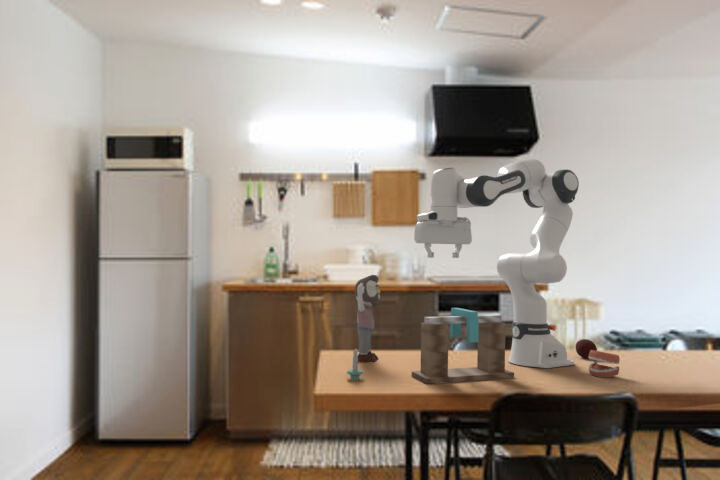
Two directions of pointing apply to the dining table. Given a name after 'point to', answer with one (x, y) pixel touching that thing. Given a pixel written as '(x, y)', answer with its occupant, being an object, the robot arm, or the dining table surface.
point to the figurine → (366, 315)
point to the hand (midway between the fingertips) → (443, 257)
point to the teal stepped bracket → (471, 324)
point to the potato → (585, 347)
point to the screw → (355, 367)
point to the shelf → (437, 351)
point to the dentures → (601, 369)
